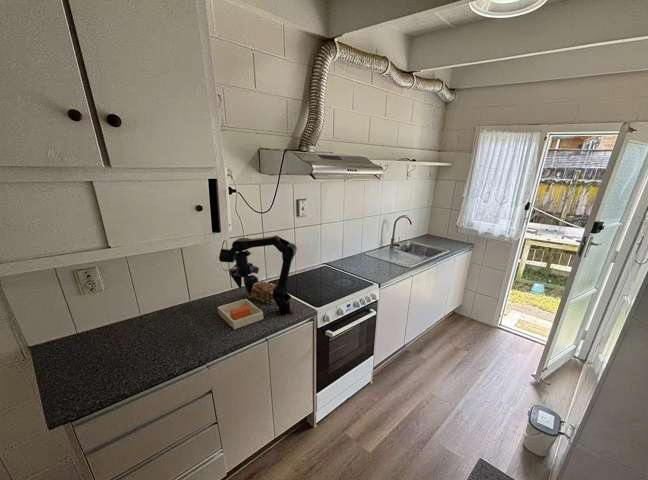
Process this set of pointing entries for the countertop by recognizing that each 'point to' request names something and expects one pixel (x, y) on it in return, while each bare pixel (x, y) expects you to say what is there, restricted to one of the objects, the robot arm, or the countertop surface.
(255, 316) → the cream rectangular tray
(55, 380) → the countertop surface
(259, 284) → the bread
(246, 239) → the robot arm
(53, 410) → the countertop surface
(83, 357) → the countertop surface
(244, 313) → the snack bar
